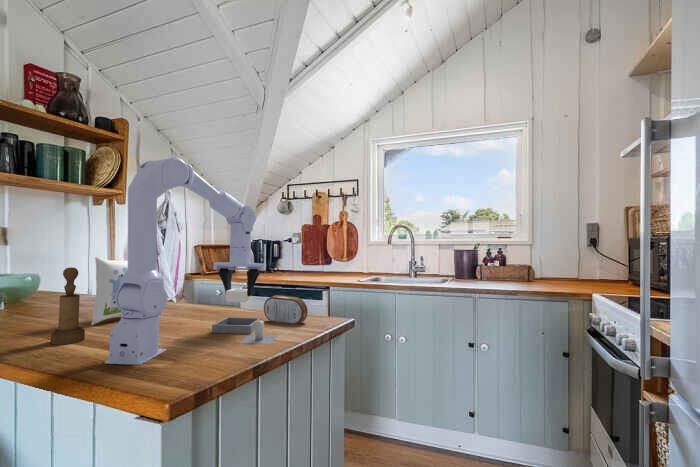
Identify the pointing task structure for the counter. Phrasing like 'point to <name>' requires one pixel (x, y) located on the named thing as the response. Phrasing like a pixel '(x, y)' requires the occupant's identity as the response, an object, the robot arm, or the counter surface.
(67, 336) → the brown tall wooden piece
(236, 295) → the ring
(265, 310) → the tin
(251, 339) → the grey plate with post
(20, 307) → the counter surface
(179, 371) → the counter surface
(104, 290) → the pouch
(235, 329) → the tray
